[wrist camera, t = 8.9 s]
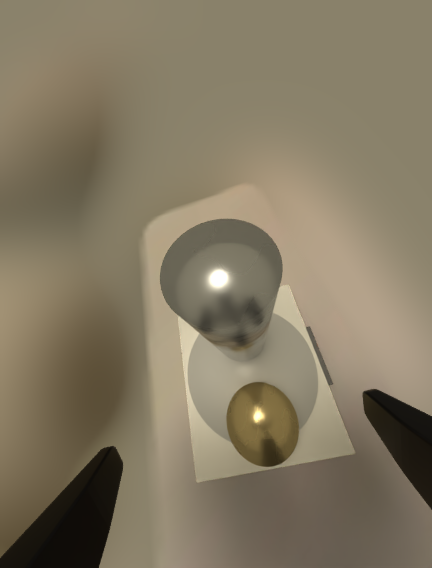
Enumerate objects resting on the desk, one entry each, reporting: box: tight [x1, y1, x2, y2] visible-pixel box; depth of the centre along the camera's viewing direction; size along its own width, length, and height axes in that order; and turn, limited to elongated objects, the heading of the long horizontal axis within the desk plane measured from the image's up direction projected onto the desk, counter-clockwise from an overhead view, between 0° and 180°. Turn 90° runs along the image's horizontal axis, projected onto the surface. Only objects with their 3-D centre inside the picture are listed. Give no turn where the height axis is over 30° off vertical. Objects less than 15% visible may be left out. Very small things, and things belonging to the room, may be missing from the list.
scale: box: [178, 284, 356, 483], centre depth 19 cm, size 14×13×3 cm
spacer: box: [160, 219, 282, 362], centre depth 13 cm, size 4×4×13 cm
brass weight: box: [226, 382, 299, 467], centre depth 15 cm, size 5×5×2 cm
